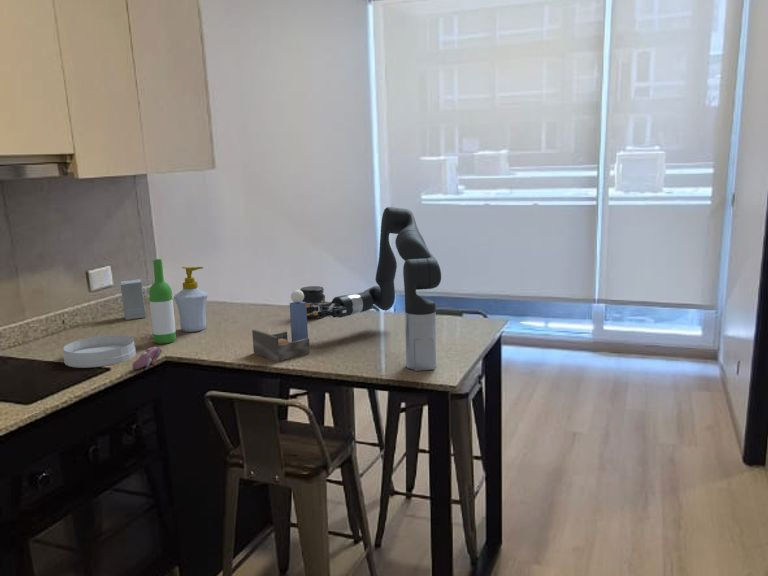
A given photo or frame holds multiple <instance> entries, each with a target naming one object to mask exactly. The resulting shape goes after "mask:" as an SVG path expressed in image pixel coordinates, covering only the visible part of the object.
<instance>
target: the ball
mask: <svg viewBox="0 0 768 576" xmlns="http://www.w3.org/2000/svg"><path fill="white" fill-rule="evenodd" d="M285 343H289V340H288V341H287V340H286V339H279V340H278V345H281V344H285Z"/></svg>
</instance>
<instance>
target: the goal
mask: <svg viewBox="0 0 768 576" xmlns="http://www.w3.org/2000/svg"><path fill="white" fill-rule="evenodd" d="M251 333H252V335H251V336H252V345H253V346H252V348H253V349H252V350H253V354H255V355H257V356H260V357H262V356H263V358H265V357H266V359H268V360H270V361H273V362H276V363H279V362H282V361H285V359H286V360H289V358H290V359H293V357H294V358H297V357H300V355H301V356H304V354H305V355H308V354H307V353H309V354H311V350H310V349H311V348H310V345H311V344H310V338H309V337H308V338H306V339H302V340H298V341H294V342H292V341H290V342H289V340H288V331H280V332H278V333H277V332H276V333H272V334H271V333H266V332H264V331H260V330H258V329H252V330H251ZM279 339H286V340H287V341H288V342H289V343H285V344H281V345H278V340H279ZM281 360H282V361H281Z"/></svg>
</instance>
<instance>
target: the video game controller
mask: <svg viewBox="0 0 768 576" xmlns="http://www.w3.org/2000/svg"><path fill="white" fill-rule="evenodd" d="M162 352H163V350H162V349H161V348H160V347H156V346H152V347H148V348H146V350H145V351H144V352H143V353H142V354H141V355H140V356H139V358H137V359H136V360H134V362H133V363H132V366H131V367H132V369H133V370H138V369H141V368H142V367H146V368H148V367H149V366H150V365H154V364H155V363H156V361H157V359H158V358H159V357H160V356H161V354H162Z"/></svg>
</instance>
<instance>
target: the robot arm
mask: <svg viewBox="0 0 768 576" xmlns="http://www.w3.org/2000/svg"><path fill="white" fill-rule="evenodd" d="M380 222H381V223H380V236H379V249H378V250H379V251H378V262H377V263H378V264H377V267H376V268H377V269H376V273H375V282H376V284H377V285H372V286H371V287H369V288H368V289H365V290H364V291H363V292H358V293H349V294H344V295H339V296H338V295H337V296H335V297H333V298H332V300H331V302H325V303H324V302H320V303H315V304H310V307H306V308H307V314H309V313H315V312H318V318H319V319H323V318H326V317H327V318H331V317H332V318H335V319H336V318H344V317H348V316H353V315H357V314H359V313H363V312H367V311H370V310H371V309H372V308H373V307H374V306H375V307H377V309H378V308H379V309H380V310H381V311H389V310H390V309H391V308H392V307H393V306H394V304H395V300H396V291H395V289H396V288H395V279H396V278H395V277H396V273H397V267H398V266H397V265H398V264H397V258H396V256H395V253H394V251H393V250H392V247H391V244H390V234H392V235H394V234H395V235H397V236H396V238H395V242H394V243H395V248H396V250H397V252H398V253H397V254H398V255H399V256H400V258H401V259H402V260H403V261H404V263H403V268H402V269H403V271H402V273H403V274H402V275H403V276H402V277H403V286H404V287H403V290H404V314H405V315H404V320H405V322H404V324H405V325H404V326H405V328H404V331H405V366H406V368H407V369H409V370H410V369H411V370H413V371H415V372H418V371H419V372H420V371H431V370H435V369H436V366H437V331H436V330H437V326H436V324H437V323H436V320H437V319H436V317H437V314H436V310H437V309H436V308H437V307H436V302H435V301H433V300H432V299H429V298H425V297H422V296H420V295H418V294H417V291H418V290H421V291H422V290H432V289H435V288H438V287H439V285H440V284H441V281H442V271H441V268H440V265H439V262H438V260H437V259H436V257H434V255H433V253H431V251H430V249H429V248H428V246H427V245H426V242H425V239H424V238H423V235H422V234H421V232H420V231H419V228H418V226H417V225H418V224H417V222H416V219H415V215H414V213H413V212H412V210H410V209H408V208H403V207H402V208H401V207H395V206H394V207H393V206H387V207H386V208H384V210H383V213H382V217H381V221H380ZM320 310H322V311H320Z"/></svg>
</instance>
